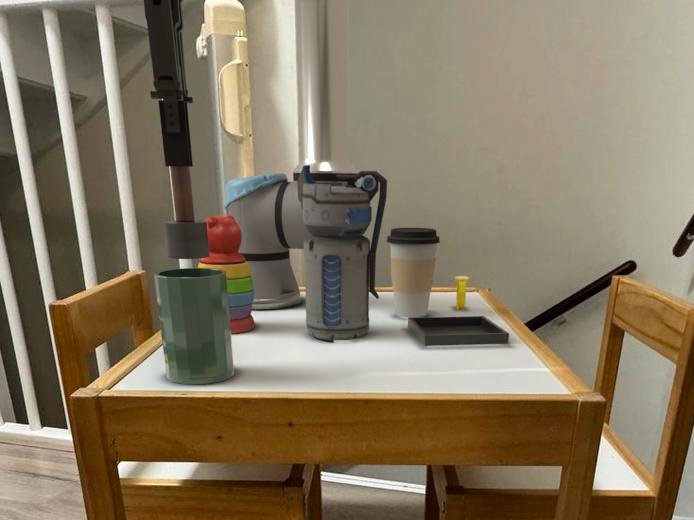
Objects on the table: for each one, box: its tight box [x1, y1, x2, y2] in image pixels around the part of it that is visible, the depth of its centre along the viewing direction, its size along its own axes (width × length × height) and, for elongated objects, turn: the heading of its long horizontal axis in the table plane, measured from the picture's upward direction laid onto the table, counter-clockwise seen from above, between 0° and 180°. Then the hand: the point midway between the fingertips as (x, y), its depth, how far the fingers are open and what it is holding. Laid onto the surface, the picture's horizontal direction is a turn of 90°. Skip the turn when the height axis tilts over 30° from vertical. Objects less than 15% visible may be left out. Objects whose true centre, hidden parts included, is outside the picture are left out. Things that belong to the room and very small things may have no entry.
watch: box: [454, 275, 470, 311], centre depth 128 cm, size 6×3×6 cm, turn 176°
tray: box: [407, 315, 510, 347], centre depth 107 cm, size 13×13×2 cm
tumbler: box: [153, 267, 235, 385], centre depth 85 cm, size 9×9×13 cm
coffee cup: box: [386, 227, 441, 318], centre depth 119 cm, size 9×9×15 cm
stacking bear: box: [197, 215, 256, 334], centre depth 109 cm, size 11×10×18 cm
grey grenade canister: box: [298, 165, 388, 342], centre depth 103 cm, size 10×13×25 cm
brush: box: [163, 65, 210, 260], centre depth 77 cm, size 5×5×20 cm
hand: (179, 166), depth 77 cm, fingers closed on brush, 2 cm apart
